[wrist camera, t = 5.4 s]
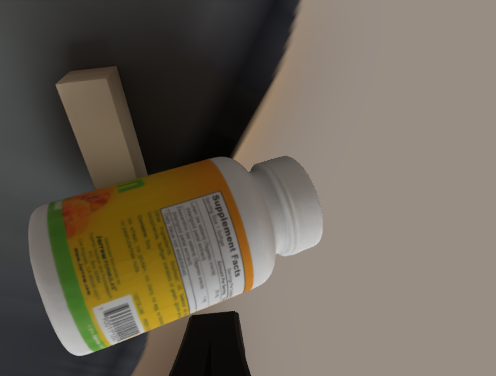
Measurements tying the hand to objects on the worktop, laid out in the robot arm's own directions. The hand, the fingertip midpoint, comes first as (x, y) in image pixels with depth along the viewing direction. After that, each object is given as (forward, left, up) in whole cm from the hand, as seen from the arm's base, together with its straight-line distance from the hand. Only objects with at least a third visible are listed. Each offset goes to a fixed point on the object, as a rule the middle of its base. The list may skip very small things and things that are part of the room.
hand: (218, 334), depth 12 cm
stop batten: (0, +4, -8) cm, 9 cm away
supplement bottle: (0, +6, -2) cm, 6 cm away
